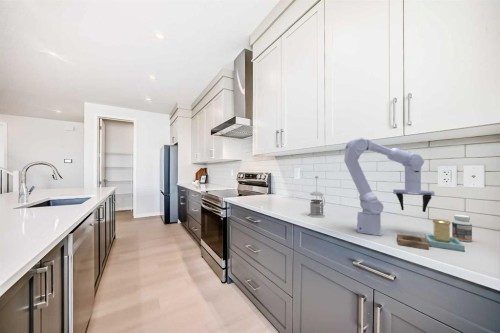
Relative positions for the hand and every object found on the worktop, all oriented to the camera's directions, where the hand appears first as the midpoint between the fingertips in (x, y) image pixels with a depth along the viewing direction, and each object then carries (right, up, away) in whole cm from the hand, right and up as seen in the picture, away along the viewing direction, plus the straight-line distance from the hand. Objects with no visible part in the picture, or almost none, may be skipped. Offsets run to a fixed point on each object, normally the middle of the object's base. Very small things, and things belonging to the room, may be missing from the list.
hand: (413, 210), depth 93 cm
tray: (+1, -10, -14) cm, 17 cm away
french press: (-31, -11, +36) cm, 49 cm away
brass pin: (0, -10, -14) cm, 17 cm away
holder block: (-10, -10, -12) cm, 19 cm away
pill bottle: (+14, -11, -8) cm, 19 cm away
